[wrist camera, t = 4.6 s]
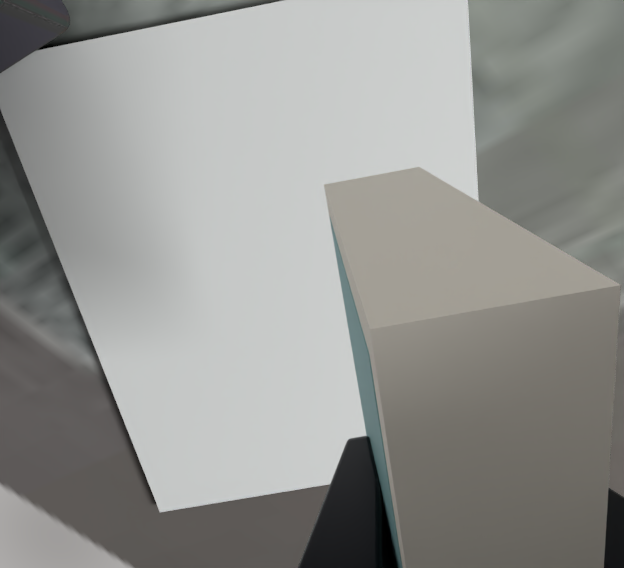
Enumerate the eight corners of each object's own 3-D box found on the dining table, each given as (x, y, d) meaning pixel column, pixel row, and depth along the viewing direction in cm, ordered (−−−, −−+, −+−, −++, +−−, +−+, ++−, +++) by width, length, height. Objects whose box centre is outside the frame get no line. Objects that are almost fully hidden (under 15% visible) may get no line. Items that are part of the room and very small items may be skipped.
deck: (453, 522, 12) (584, 878, 7) (382, 533, 12) (455, 895, 7) (419, 166, 9) (620, 285, 3) (323, 184, 9) (368, 329, 4)
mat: (488, 451, 23) (492, 457, 23) (162, 505, 24) (159, 512, 23) (461, -34, 16) (465, -37, 15) (-12, 62, 16) (-19, 61, 16)
